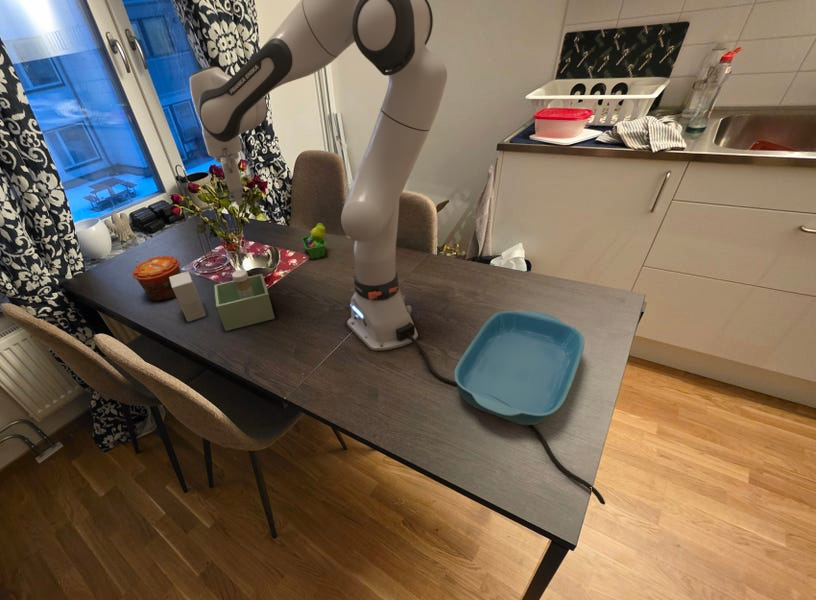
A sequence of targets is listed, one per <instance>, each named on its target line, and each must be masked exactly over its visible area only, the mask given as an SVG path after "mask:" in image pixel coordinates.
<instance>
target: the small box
mask: <svg viewBox="0 0 816 600" xmlns="http://www.w3.org/2000/svg"><path fill="white" fill-rule="evenodd" d="M169 279H170V283H171V286H172V289H173V291H174V293H175V295H176V296H175V297H176V300H177V302H178V304H179V306H180V308H181V310H182V311H181V312H182V313H183V315H184V317H185V320H186V322H187V323H189V322H192V321H196V320H199V319H201V318H204V317H206V316H207V313H206V310H205V307H204V306H203V302H202V301H201V299H200V296H199V294H198V291H197V289H196V287H195V284H194V281H193V278H192V277H191V274H190V272H189V271H184V272H181V273H180V274H177V275H174V276H171V277H169Z"/></svg>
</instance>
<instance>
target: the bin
mask: <svg viewBox="0 0 816 600" xmlns="http://www.w3.org/2000/svg"><path fill="white" fill-rule="evenodd" d="M248 279H249V283H250V286H251V288H252V292H253V295H254V296H253V297H249V298H245V299H241V300H240V298H239V295H238V292H237V288H236V285H235V282H234V280H230V281H226V282H221V283H217V284H214V285H213V287H214V297H215V306H216V310H217V312H218V315H219V318H220V320H221V323H222V326H223V329H224V331H225V332H228V331H231V330H236V329H240V328H243V327H247V326H251V325H254V324H255V325H256V324H260V323H263V322H267V321H270V320H274V319H276V317H275V314H274V310H273V305H272V302H271V298H270V294H269V291H268V288H267V287H268V286H267V285H266V282H265V279H264V274H263V273H260V274H255V275H251V276H248Z"/></svg>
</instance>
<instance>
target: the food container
mask: <svg viewBox="0 0 816 600" xmlns="http://www.w3.org/2000/svg"><path fill="white" fill-rule="evenodd" d="M180 273H182V271H181V269H180V260H179V259H178V258H176V257H174V256H172V255H162V256H160V255H159V256H154V257H151V258H148V260H146V261H141V262H140V263H139V264H137V265H136V266H135V268H134V269H133V271H132V277H133V279H134V280H137V282H138V283H139V285H140V286H141V288H142V289H143V291H144V292H145V293H146V295H147V296H148V298H149V299H150V300H152V301H155V302H162V301H163V302H164V301H168V300H171V299H173V298H175V297H176V295H175V293H174V291H173V289H172V286H171V283H170V279H169V277H171V276H174V275H177V274H180Z"/></svg>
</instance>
